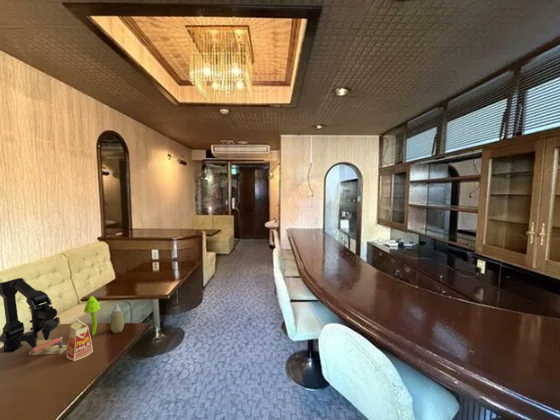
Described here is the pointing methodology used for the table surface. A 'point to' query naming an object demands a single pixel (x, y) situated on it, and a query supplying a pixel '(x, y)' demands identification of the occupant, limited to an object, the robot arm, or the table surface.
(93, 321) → the mushroom
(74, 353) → the milk carton
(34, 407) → the table surface
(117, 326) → the squeeze bottle
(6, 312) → the robot arm
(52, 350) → the plane body
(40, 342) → the tan rectangular block
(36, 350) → the lever
